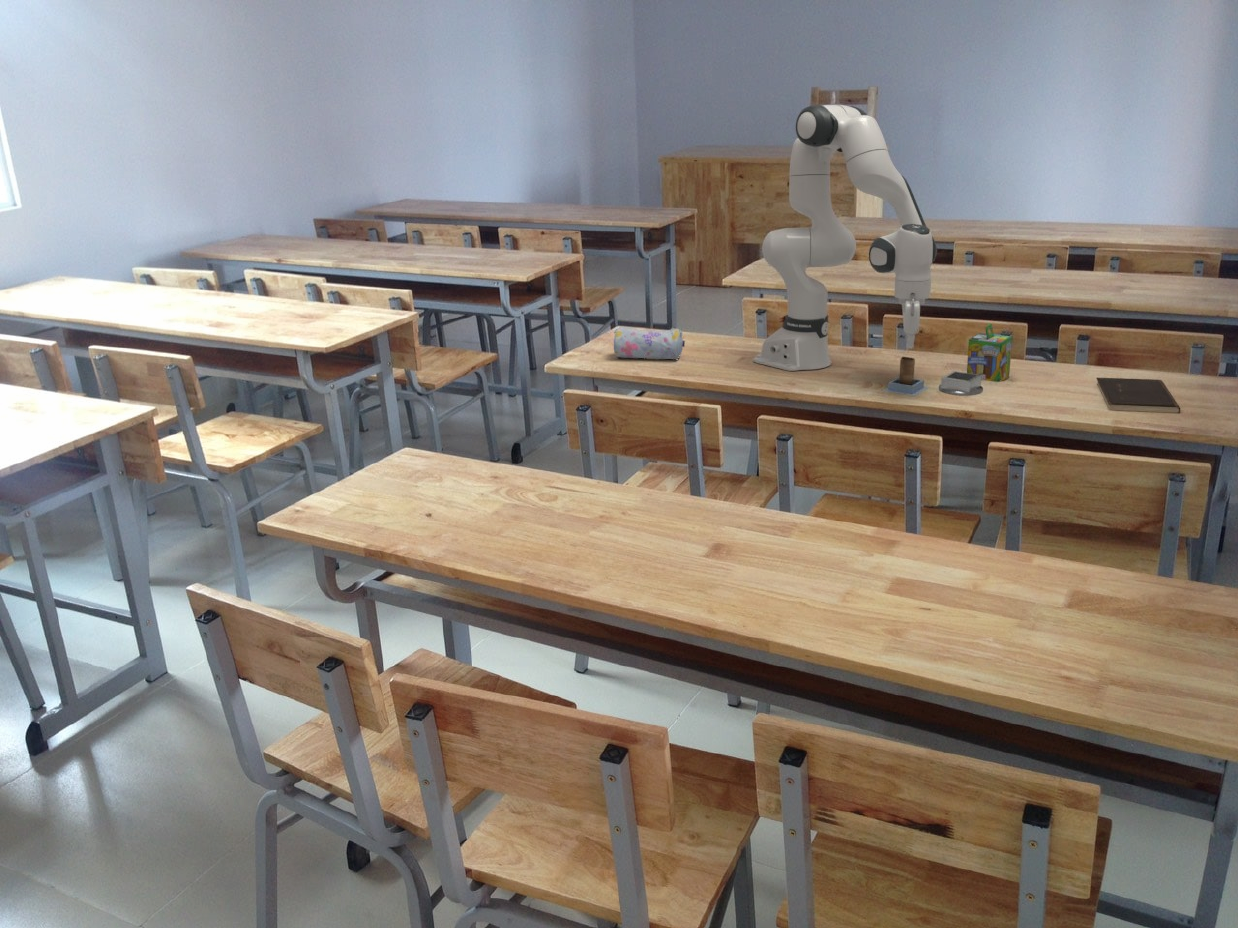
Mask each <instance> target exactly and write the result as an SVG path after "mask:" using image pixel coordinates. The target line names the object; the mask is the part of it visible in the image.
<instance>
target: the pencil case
mask: <svg viewBox="0 0 1238 928" xmlns="http://www.w3.org/2000/svg"><path fill="white" fill-rule="evenodd" d="M682 336H683V332H682V331H681V329H680V328H675V327H671V328H670V329H669V330H655V331H654V330H653V331H651V330H650V331H649V330H642V329H635V328H630V327H625V326H619V327H618V328H615V330H614V339H613V351H614V352H613V353H614V354H615V356H616V358H617V357H623V358H622V359H638V358H644V359H643V360H653V359H657V360H658V359H678V357H679V355H681V356H682V354H683V353H682V352H683V348H685V341H686V340H683V337H682ZM626 357H628V358H626ZM645 358H647V359H645ZM649 358H650V359H649Z"/></svg>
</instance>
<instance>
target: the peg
mask: <svg viewBox="0 0 1238 928" xmlns="http://www.w3.org/2000/svg"><path fill="white" fill-rule="evenodd" d="M899 362H900V363H899V376H898V377H899V384H904V385H910V386H912V385H913V380H914V379H915V378H914V377H915V376H914V375H915V365H916V359H915V358H913V357H910V356H909V357H908V356H901V357H900V361H899Z"/></svg>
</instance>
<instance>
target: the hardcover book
mask: <svg viewBox="0 0 1238 928" xmlns="http://www.w3.org/2000/svg"><path fill="white" fill-rule="evenodd" d="M1096 381H1097V386H1098V388H1099V391H1100V392H1101V395H1102V397H1103V399H1104V400H1105V403H1106V405H1107V409H1109V411H1125V412H1126V411H1127V412H1131V411H1132V412H1145V413H1147V412H1150V413H1171V414H1173V413H1174V414H1180V412H1181V407H1180V405H1179V404H1178V402H1177V401H1176V399H1175V398H1174V397H1173V395H1172V393H1171V392H1170V390H1169V388H1168V387H1167V386H1166V385H1165V383H1164V381H1163V380H1162V379H1153V378H1152V379H1151V378H1149V379H1148V378H1121V377H1120V378H1119V377H1116V378H1115V377H1096Z"/></svg>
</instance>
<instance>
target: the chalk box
mask: <svg viewBox="0 0 1238 928" xmlns="http://www.w3.org/2000/svg"><path fill="white" fill-rule="evenodd" d="M984 330H985V333H982V332H979V333H977V334H976V335H974V336H972V337H971V338H969V339H968V346H967V348H968V349H967V363H966V364H967V366H966V373H972V374H979V375H982V378H981V381H991V382H997V383H999V382H1004V381H1005V380H1007V379H1008V378H1010V370H1011V361H1012V359H1011V357H1012V345H1013V336H1011V335H1002V334H996V333H994V329H993V324H992V323H988V325H986V326H985V329H984ZM989 330H990V333H989Z"/></svg>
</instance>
